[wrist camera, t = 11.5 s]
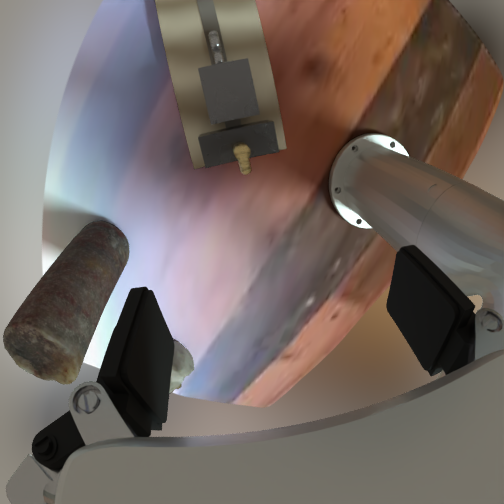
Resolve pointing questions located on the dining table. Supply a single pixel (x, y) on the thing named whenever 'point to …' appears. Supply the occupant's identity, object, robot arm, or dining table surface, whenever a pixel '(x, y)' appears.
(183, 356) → the ceramic sculpture
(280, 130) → the rail board
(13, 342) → the candle
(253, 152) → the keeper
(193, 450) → the robot arm
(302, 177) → the dining table surface
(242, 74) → the dark grey block
